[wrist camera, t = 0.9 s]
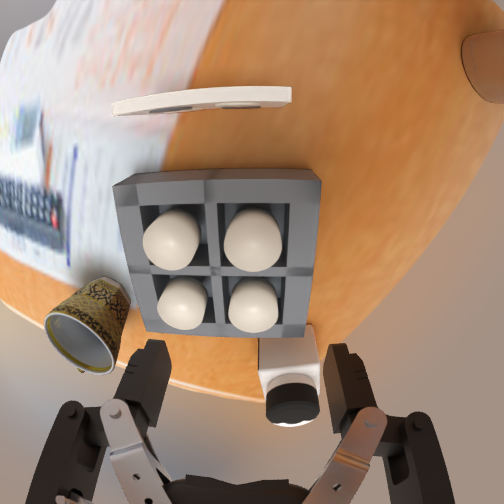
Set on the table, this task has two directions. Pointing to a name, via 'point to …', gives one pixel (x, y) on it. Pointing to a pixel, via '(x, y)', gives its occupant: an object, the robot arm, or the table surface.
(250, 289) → the button
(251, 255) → the button
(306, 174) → the board
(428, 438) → the robot arm
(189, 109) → the card
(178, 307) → the button
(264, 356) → the medicine bottle
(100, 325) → the ceramic cup
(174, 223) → the button
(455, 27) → the table surface
